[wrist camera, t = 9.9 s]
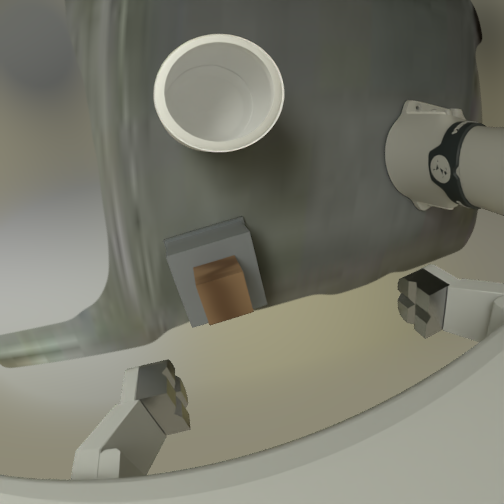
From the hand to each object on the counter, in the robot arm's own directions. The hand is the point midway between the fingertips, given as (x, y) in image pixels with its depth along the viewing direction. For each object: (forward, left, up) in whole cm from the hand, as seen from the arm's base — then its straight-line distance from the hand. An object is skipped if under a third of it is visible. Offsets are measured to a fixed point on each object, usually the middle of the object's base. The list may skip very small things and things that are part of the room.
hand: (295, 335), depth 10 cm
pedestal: (+2, +10, -32) cm, 33 cm away
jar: (-2, -10, -32) cm, 34 cm away
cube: (+2, +10, -26) cm, 28 cm away
